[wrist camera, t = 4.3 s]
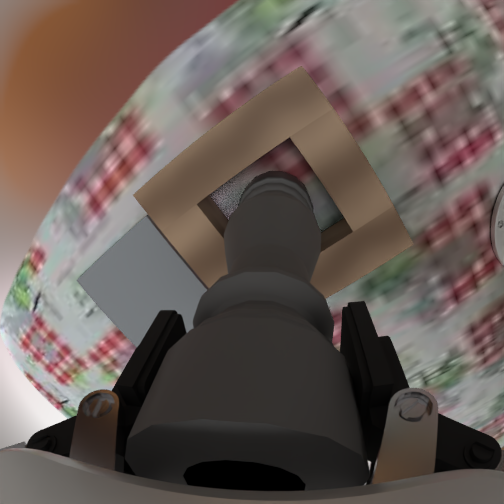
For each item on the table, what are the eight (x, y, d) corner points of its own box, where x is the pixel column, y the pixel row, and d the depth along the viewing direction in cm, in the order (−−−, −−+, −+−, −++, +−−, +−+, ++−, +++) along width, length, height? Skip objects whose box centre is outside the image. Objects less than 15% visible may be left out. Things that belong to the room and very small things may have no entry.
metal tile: (229, 310, 34) (228, 314, 33) (150, 355, 37) (148, 359, 37) (149, 213, 30) (146, 215, 29) (79, 277, 34) (76, 280, 33)
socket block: (398, 229, 28) (413, 244, 25) (256, 315, 33) (252, 338, 30) (298, 73, 24) (301, 65, 20) (150, 185, 29) (133, 195, 25)
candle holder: (302, 242, 30) (326, 527, 7) (237, 230, 30) (131, 497, 7) (316, 178, 27) (434, 422, 4) (247, 164, 28) (90, 369, 5)
